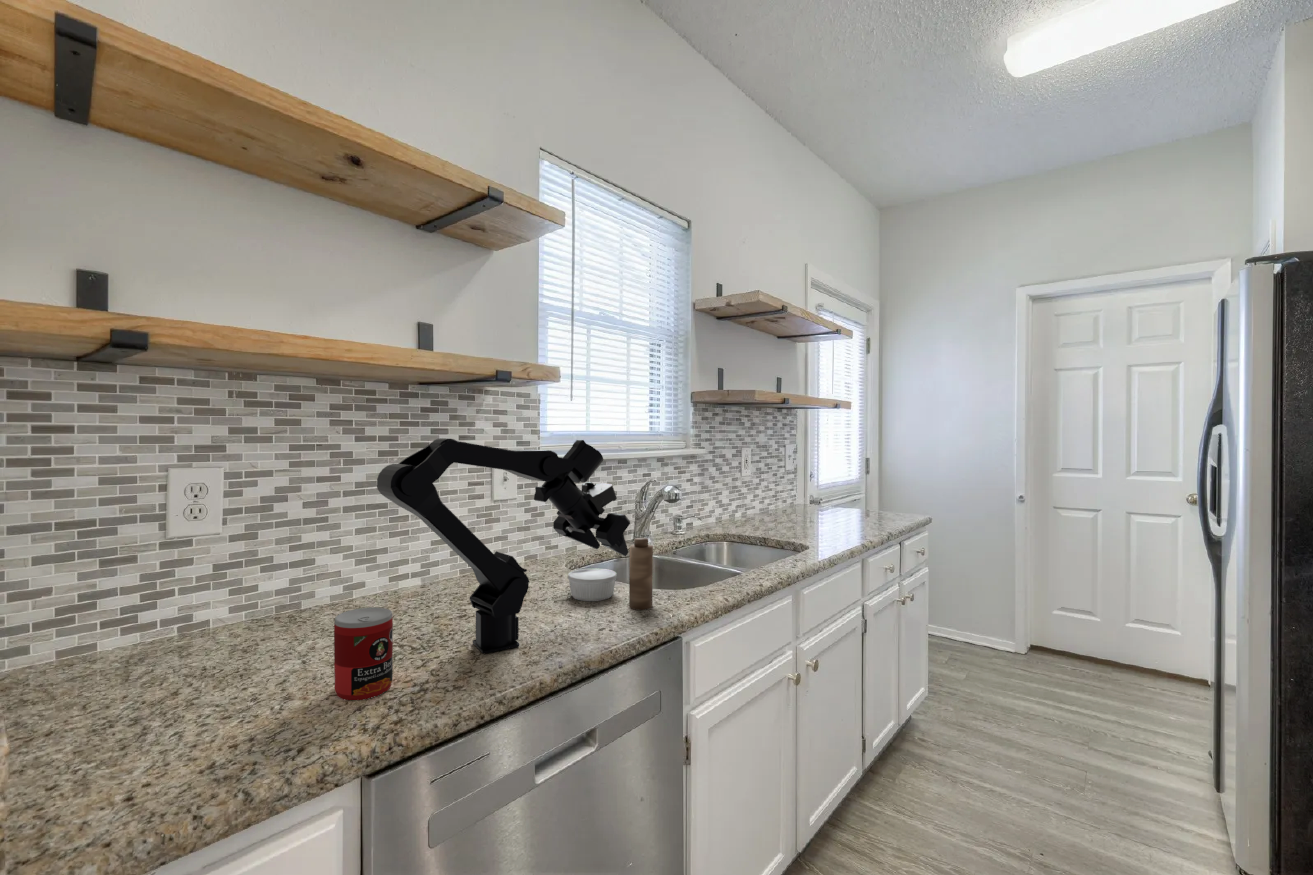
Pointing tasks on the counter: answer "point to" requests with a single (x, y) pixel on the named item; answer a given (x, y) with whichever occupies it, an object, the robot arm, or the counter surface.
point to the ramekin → (592, 584)
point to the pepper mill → (641, 575)
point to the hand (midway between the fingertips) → (612, 550)
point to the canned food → (363, 653)
